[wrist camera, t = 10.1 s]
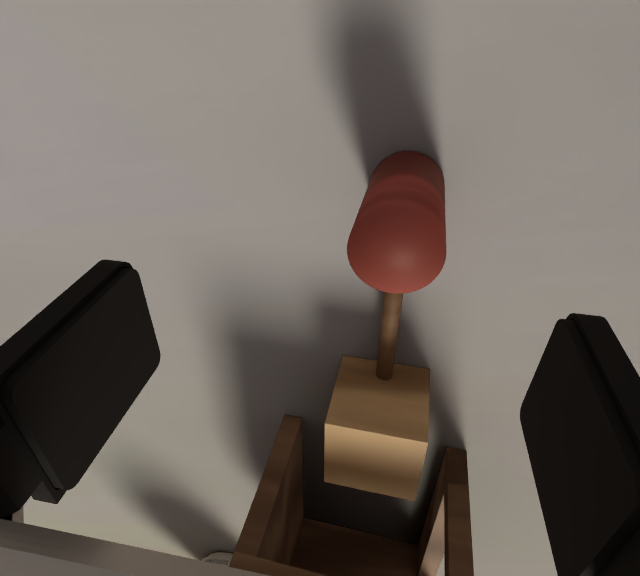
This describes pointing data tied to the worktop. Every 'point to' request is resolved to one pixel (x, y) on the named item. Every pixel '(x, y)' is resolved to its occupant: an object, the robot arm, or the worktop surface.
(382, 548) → the open wooden crate
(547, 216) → the worktop surface
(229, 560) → the supplement can
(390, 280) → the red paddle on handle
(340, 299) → the worktop surface
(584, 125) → the worktop surface
